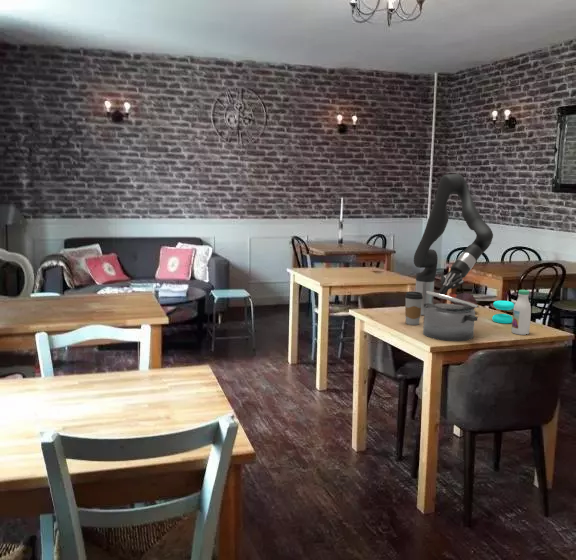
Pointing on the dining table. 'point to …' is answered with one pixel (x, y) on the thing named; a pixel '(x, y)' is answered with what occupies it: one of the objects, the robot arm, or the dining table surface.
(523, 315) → the milk bottle
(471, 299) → the pine cone
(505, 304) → the donuts
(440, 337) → the cooking pot
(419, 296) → the coffee cup
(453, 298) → the lid
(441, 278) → the robot arm
